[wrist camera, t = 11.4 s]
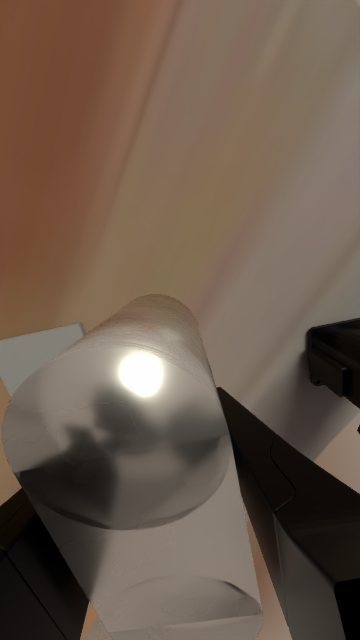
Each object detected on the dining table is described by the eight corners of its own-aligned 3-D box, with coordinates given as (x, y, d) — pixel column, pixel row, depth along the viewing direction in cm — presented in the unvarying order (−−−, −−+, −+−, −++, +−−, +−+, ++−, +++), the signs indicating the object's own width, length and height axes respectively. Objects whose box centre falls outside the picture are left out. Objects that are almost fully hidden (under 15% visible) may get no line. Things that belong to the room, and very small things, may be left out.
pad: (81, 322, 19) (78, 324, 19) (119, 427, 23) (118, 430, 22) (-12, 342, 20) (-17, 344, 20) (39, 441, 23) (36, 445, 23)
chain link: (189, 285, 9) (209, 326, 3) (223, 452, 11) (270, 654, 5) (103, 304, 9) (-43, 378, 3) (155, 463, 11) (129, 668, 6)
